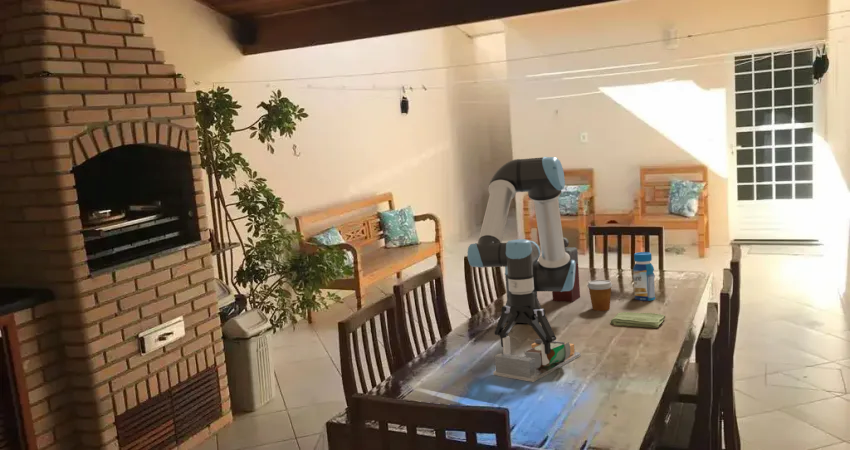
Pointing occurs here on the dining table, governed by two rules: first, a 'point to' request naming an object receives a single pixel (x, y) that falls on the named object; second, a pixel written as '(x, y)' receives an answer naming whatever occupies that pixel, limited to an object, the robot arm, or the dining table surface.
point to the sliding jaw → (539, 341)
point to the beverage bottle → (643, 277)
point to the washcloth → (638, 319)
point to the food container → (550, 354)
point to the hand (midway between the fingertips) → (526, 361)
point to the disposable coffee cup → (600, 294)
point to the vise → (525, 367)
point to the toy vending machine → (575, 292)
